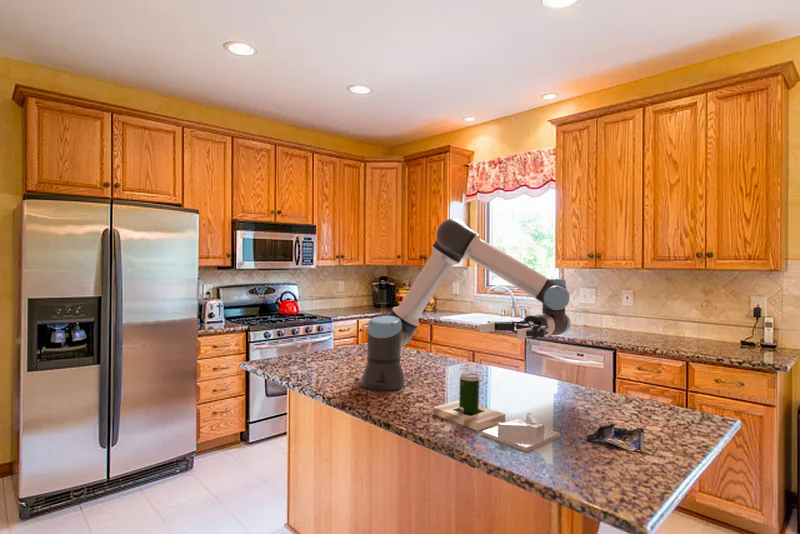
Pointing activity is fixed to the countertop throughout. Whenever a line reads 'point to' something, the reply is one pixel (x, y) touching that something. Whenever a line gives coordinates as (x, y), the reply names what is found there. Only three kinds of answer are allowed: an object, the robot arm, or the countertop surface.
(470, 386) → the green soda can
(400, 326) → the robot arm
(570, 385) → the countertop surface
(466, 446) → the countertop surface
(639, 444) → the snack package
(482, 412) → the beige rectangular frame
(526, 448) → the v block
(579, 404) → the countertop surface
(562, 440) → the countertop surface
